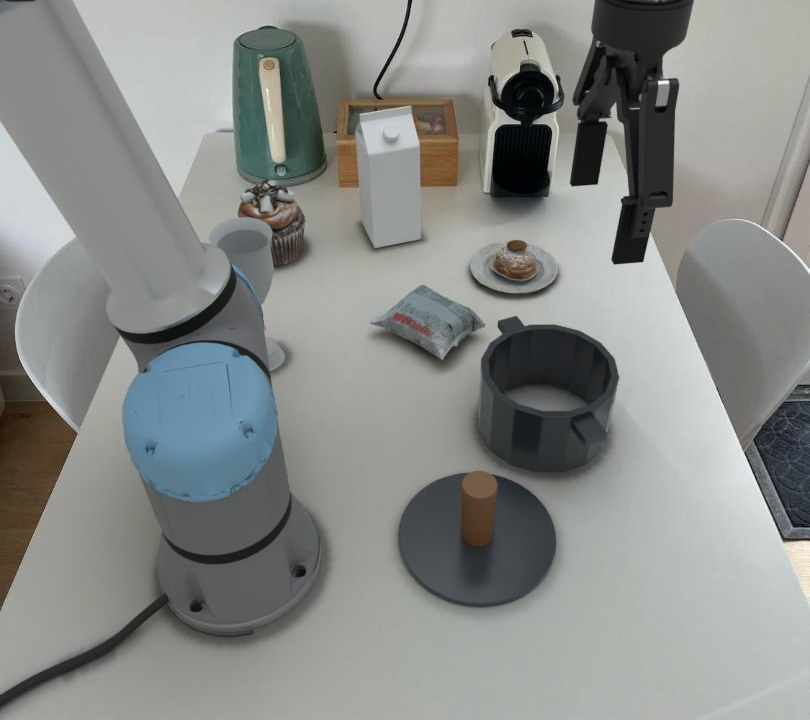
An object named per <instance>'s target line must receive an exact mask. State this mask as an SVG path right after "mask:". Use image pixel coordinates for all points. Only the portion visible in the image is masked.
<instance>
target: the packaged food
mask: <svg viewBox="0 0 810 720" xmlns="http://www.w3.org/2000/svg"><path fill="white" fill-rule="evenodd" d="M369 323H370V324H371V325H374V326H376V327H378V328H383V329H385V330H386V331H388V332H389V333H393V334H394V335H397V336H399V337H401V338H403V339H406V340H408V341H410V342H412V343H414V344H416V345H418V346H419V347H420V348H423V350H426V351H427V352H429V353H430V354H432V355H433V356H435V357H437V358H439V359H440V360H441V361H444V359H445V358H446V356H447V354H448V353H449V352H450V351H451V349H452V348H453V347H458V346H459V344H460V342H462V341H463V340H464V339H465V338H466V336H467V335H471V333H476V331H478V330H481V329H482V328H483V329H484V328H485V327H486V323H485V321H483V320H482V319H481V317H480V316H479V315H477V313H476V312H474V310H473V309H472V308H471V307H468V306H467V305H463V304H461V303H458V302H457V301H453V300H451V299H450V298H448V297H446V296H444V295H442V294H440V293H439V292H437V291H435V290H433V289H432V288H430V287H428V286H427V285H425V284H421V285H419V286H417V287H416V288H415V289H413V290H411V291H409V292H408V293H407V295H405V296H404V297H403V298H402V299H400V300H399V301H398V302H397V303H396V304H394V305H393V306H392V307H391V308H390V309H389V310H388V311H387V312H385V313H383V314H381V315H378V316H376V317H375V318H373V319H370V322H369Z"/></svg>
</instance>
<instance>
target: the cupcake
mask: <svg viewBox="0 0 810 720" xmlns="http://www.w3.org/2000/svg"><path fill="white" fill-rule="evenodd" d="M294 196H295V193H294V191H293V190H290V189H288V187H287V186H284V185H282V186H279V187H278V185H275V183H274V181H270V179H269V178H266V179H264V180H263V179H262V180H261V181H260V182H258V183H257V184H255V185H254V187H252V188H246V189H245V191H243V192H242V193H241V194H239V197H240V201H241V202H240V204H239V206H238V209H237V216H238V217H237V218H240V217H250V218H255V219H259V220H261V221H264V222H266V223H267V224H268V225H269V226H270V227H271V229H272V232H273V233H272V239H271V241H270V248H271V254H272V260H273V266H274V267H280V266H285V265H288V264H291V263H293V262H295V261H296V260H297V259H298V258H299V257H300V256H301V255H302V254H303V249H304V237H305V236H304V235H305V234H304V233H305V228H306V220H307V219H306V216H305V214H304V212H303V210H302V208H301V207H300V206H299V205H298V203H297V201H296V200H295V199H294Z"/></svg>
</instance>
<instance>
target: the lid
mask: <svg viewBox="0 0 810 720" xmlns="http://www.w3.org/2000/svg"><path fill="white" fill-rule="evenodd" d="M398 545H399V550H400V554H401V557H402V560H403V563H404V564H405V567H406V568H407V570H408V572H409V573H410V574H411V575H412V577H413V578H414V579H415V580H416V581H417V582H418V583H419V584H420V585H421V586H422V587H423V588H425V589H426V590H427V591H429V592H430V593H432V594H434V595H435V596H437V597H438V598H440V599H443V600H445V601H448V602H451V603H454V604H458V605H461V606H467V607H494V606H500V605H505V604H507V603H510V602H513V601H515V600H518V599H520V598H522V597H524V596H526V595H527V594H529V593H531V592H532V591H533V590H534V589H536V588H537V587H538V586H539V584H540V583H541V582H542V581H543V580H544V579H545V578H546V576H547V574H548V573H549V571H550V570H551V567H552V564H553V563H554V562H553V561H554V559H555V555H556V549H557V548H556V547H557V533H556V528H555V525H554V522H553V519H552V517H551V515H550V513H549V511H548V509H547V508H546V507H545V505H544V504H543V502H542V501H541V500H540V499H539V498H538V496H536V495H535V494H534V493H533V492H532V491H530V490H529V488H528V489H527V488H526V487H525V486H523V485H521V484H520V483H518V482H516V481H514V480H511V479H509V478H506V477H505V476H502V475H501V476H500V475H496V474H493V473H490V472H487V471H485V470H474V471H471V472H461V473H455V474H451V475H447V476H443V477H441V478H439V479H436V480H435V481H433V482H431V483H429V484H427V485H426V486H425V487H423V488H422V489H421V490H419V491H418V492H417V493H416V494H415V495H414V496H413V497H412V498H411V500H410V501H409V502H408V504H407V506H406V507H405V509H404V510H403V513H402V516H401V518H400V521H399V526H398Z"/></svg>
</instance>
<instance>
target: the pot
mask: <svg viewBox="0 0 810 720" xmlns="http://www.w3.org/2000/svg"><path fill="white" fill-rule="evenodd" d="M496 327H497V329H498V331H499V332H500V333H501V334H500V335H499V336H498V337H496V338H495V339H494V340H492V341H491V342H489V344H488V346H487V348H486V350H485V351H484V353H483V355H482V356H481V359H480V373H479V374H480V375H479V390H478V391H479V392H478V410H477V411H478V414H477V416H478V417H477V419H478V432H479V434H480V436H481V438H482V440H483V441H484V443H485V444H486V446H487V448H488V449H489V451H490V452H492V453H493V454H494V455H496V456H497V457H499V458H500V459H502V460H503V461H504V462H506V463H507V464H509V465H511V466H513V467H517V468H520V469H523V470H527V471H529V472H532V473H565V472H568V471H570V470H574V469H577V468H580V467H582V466H585V465H587V464H588V463H589V462H590V461H591V460H592V459H594V458H595V457H596V456H597V455H598V454H599V453H601V452H602V450H603V447H604V445H605V441H607V439H608V433H609V427H610V423H611V420H612V419H611V418H612V413H613V409H614V406H615V405H614V404H615V401H616V400H615V399H616V394H617V390H618V385H619V381H620V375H619V371H618V365H617V362H616V358H615V357H614V356H613V355H612V354H611V352H609V350H608V349H607V348H606V347H605V345H604V344H603V343H602V342H600V341H599V340H598V339H595V338H594V337H592V336H590V335H588V334H587V333H585V332H583V331H581V330H580V329H579V330H578V329H574V328H571V327H567V326H563V325H559V324H553V323H552V324H551V323H550V324H546V323H545V324H543V323H542V324H527V325H524V323H523V322H522V320H521V319H520V318H519V317H518V315H514V316H509V317H506V318H503V319H499V320H497V326H496ZM525 385H549V386H553V387H556V388H560V389H564V390H567V391H569V392H571V393H572V394H574V395H576V396H577V397H578V398H580V399H582V400H584V401H585V402H586V403H587V405H583V406H580V407H577V408H574V409H570V410H541V409H538V408H534V407H531V406H527V405H524V404H520V403H518V402H516V401H515V400H513V398H511V397H509V396H508V395H506V394H504V393H505V392H506V391H508V390H511V389H515V388H518V387H521V386H525Z"/></svg>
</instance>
